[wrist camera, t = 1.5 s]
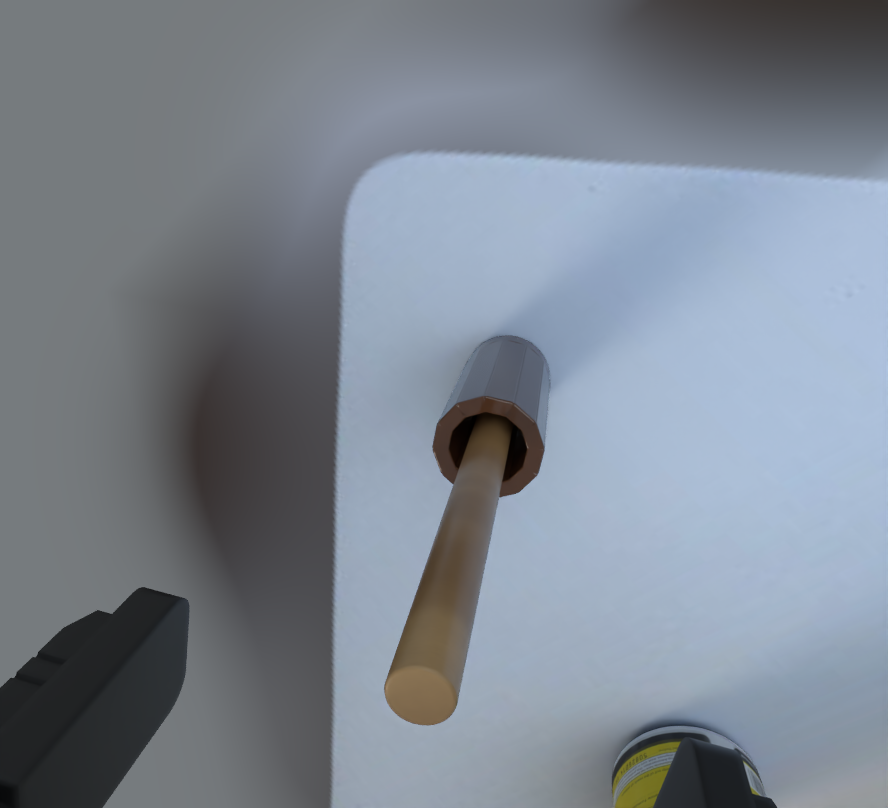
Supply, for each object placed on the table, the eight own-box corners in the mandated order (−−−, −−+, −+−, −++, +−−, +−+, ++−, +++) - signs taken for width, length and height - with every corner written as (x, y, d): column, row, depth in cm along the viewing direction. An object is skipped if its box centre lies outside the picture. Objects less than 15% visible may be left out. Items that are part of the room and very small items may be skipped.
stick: (485, 371, 26) (372, 674, 11) (516, 363, 25) (442, 662, 11) (495, 400, 26) (398, 731, 11) (525, 392, 26) (467, 721, 11)
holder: (455, 348, 27) (418, 413, 20) (535, 324, 26) (524, 384, 19) (481, 423, 27) (453, 508, 21) (559, 402, 27) (556, 484, 20)
